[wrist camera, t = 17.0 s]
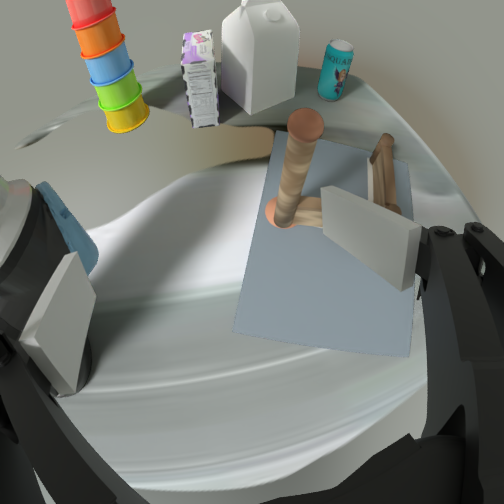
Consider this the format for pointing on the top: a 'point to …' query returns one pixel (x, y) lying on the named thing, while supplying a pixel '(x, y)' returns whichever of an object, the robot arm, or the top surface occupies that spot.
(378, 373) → the top surface
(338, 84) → the beverage can
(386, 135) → the fence fixed
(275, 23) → the milk
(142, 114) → the stacking cups
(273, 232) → the card
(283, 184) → the folding fence panel
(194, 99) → the candy box
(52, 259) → the robot arm
